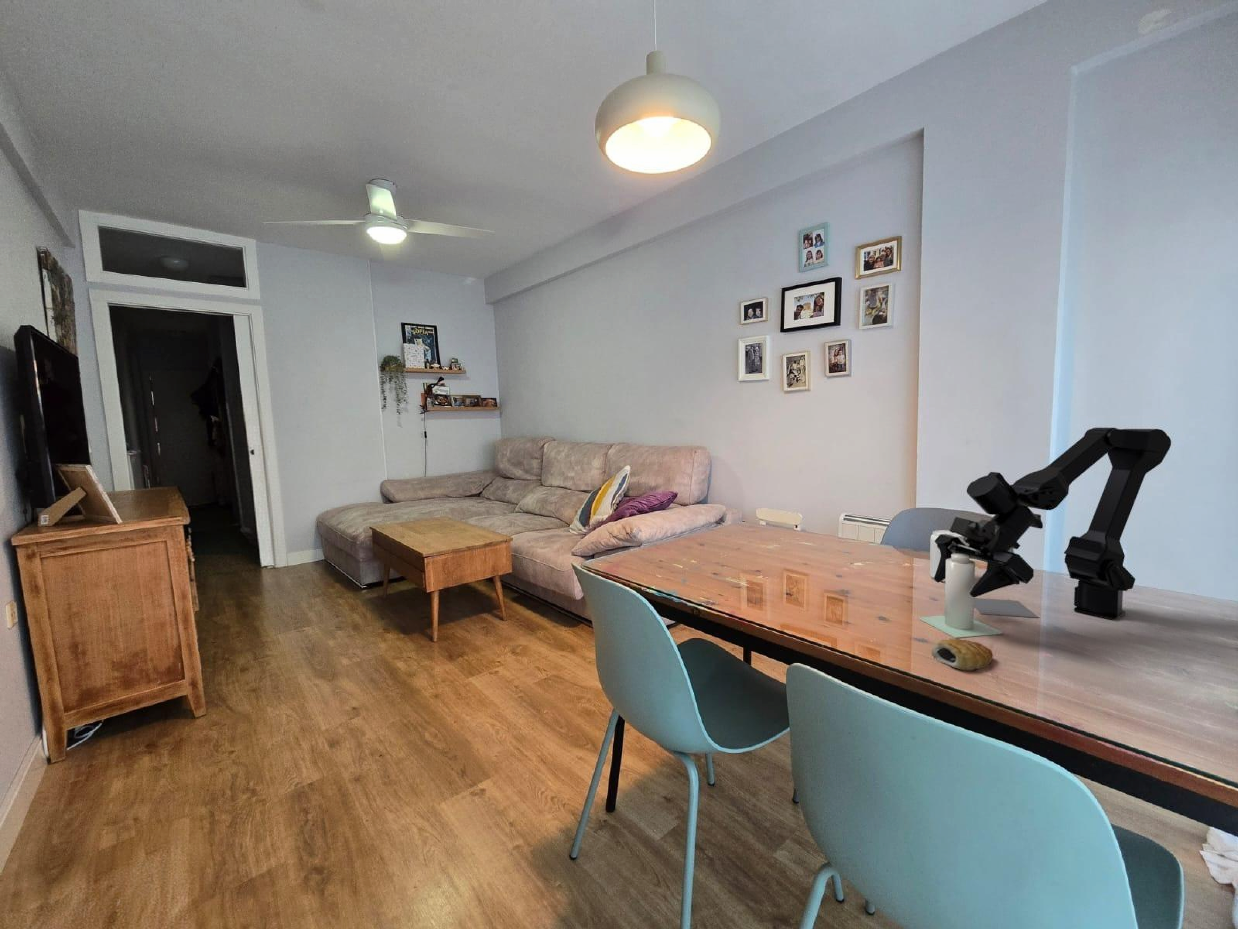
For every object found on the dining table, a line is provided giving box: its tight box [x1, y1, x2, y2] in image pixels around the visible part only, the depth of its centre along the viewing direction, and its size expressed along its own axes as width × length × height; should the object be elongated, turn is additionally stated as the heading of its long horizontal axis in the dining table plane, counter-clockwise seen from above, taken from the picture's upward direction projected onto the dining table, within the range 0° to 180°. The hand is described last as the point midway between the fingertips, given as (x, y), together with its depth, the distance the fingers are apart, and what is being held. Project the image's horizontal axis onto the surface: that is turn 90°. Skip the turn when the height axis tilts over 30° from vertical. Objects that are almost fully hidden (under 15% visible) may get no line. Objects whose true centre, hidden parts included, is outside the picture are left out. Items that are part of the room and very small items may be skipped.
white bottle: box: [944, 554, 976, 630], centre depth 101 cm, size 5×5×14 cm
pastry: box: [930, 638, 994, 671], centre depth 87 cm, size 9×7×4 cm
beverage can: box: [929, 529, 969, 583], centre depth 130 cm, size 8×8×12 cm
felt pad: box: [974, 597, 1040, 619], centre depth 110 cm, size 10×10×1 cm
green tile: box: [917, 614, 1004, 639], centre depth 102 cm, size 10×10×1 cm
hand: (952, 588), depth 101 cm, fingers open, 9 cm apart
